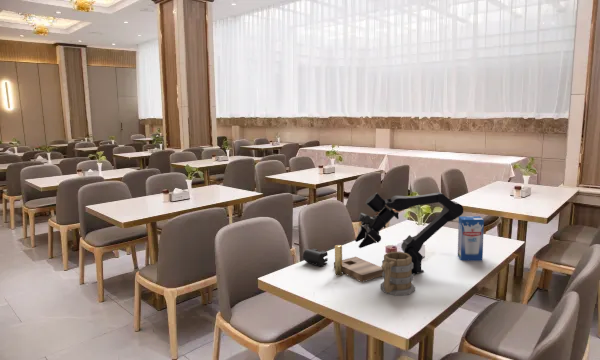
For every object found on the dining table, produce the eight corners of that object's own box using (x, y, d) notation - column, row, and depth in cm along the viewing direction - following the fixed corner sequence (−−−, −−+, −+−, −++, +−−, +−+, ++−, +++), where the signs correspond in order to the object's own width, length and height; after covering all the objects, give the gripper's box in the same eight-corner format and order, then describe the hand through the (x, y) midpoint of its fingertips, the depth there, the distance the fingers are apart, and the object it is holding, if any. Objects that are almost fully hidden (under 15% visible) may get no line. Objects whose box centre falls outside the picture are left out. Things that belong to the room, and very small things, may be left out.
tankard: (390, 280, 183) (390, 246, 180) (418, 287, 175) (419, 251, 172) (366, 296, 167) (366, 259, 165) (396, 304, 159) (396, 266, 157)
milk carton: (478, 256, 209) (479, 216, 206) (482, 260, 203) (484, 219, 200) (457, 256, 210) (458, 216, 207) (460, 260, 204) (462, 219, 201)
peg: (343, 274, 191) (343, 246, 189) (338, 276, 189) (337, 247, 187) (339, 272, 194) (339, 244, 192) (333, 273, 192) (333, 245, 190)
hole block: (384, 275, 189) (384, 268, 188) (362, 281, 182) (362, 275, 181) (355, 262, 205) (355, 256, 205) (334, 268, 199) (333, 262, 198)
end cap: (303, 263, 206) (302, 250, 205) (312, 260, 211) (312, 246, 210) (318, 268, 199) (318, 254, 198) (328, 264, 204) (328, 250, 203)
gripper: (365, 202, 197) (341, 226, 198) (373, 211, 178) (347, 238, 180) (382, 218, 198) (358, 242, 199) (392, 229, 180) (366, 255, 181)
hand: (357, 244), depth 190 cm, fingers open, 9 cm apart
